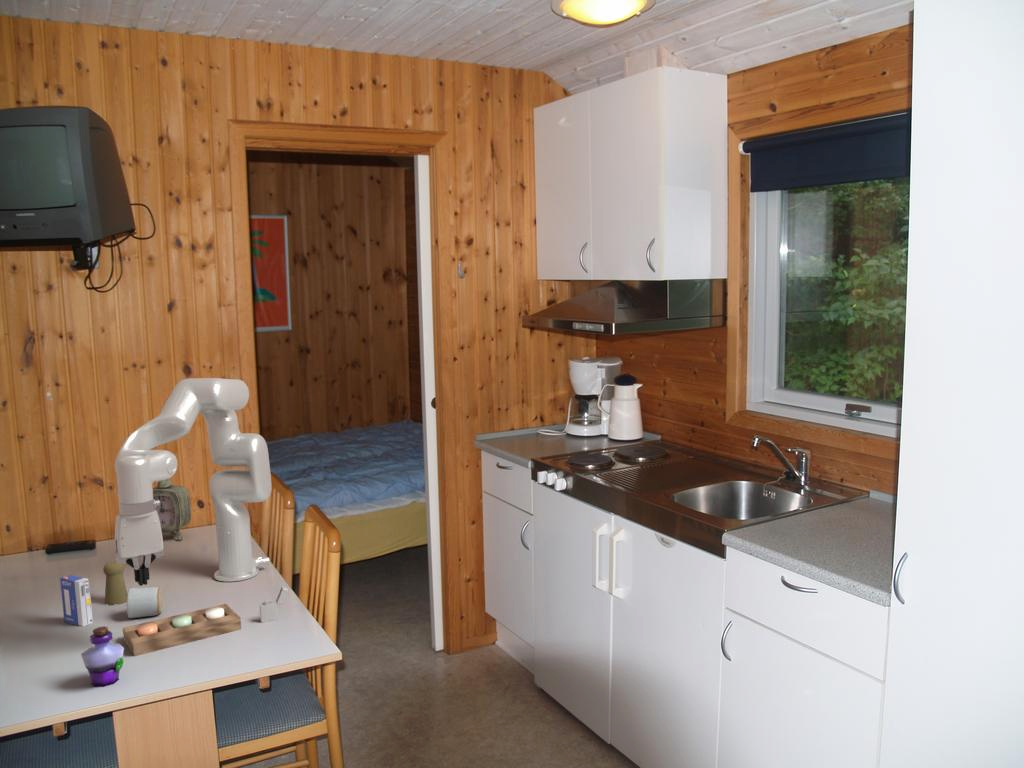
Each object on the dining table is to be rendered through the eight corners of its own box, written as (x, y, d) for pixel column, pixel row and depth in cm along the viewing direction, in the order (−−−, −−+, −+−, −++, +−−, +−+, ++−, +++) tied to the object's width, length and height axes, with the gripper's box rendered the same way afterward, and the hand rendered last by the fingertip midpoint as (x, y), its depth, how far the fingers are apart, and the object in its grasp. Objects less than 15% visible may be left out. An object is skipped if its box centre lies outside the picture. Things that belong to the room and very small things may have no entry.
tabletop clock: (142, 541, 298) (136, 469, 295) (157, 533, 307) (151, 463, 304) (182, 542, 296) (176, 469, 293) (196, 534, 305) (190, 463, 302)
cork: (119, 605, 239) (115, 566, 237) (99, 604, 240) (96, 565, 238) (133, 597, 244) (129, 559, 243) (113, 596, 246) (110, 558, 244)
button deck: (226, 614, 229) (225, 603, 229) (241, 629, 219) (240, 617, 219) (123, 639, 215) (122, 627, 215) (134, 656, 205) (133, 643, 205)
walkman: (64, 621, 228) (59, 576, 227) (74, 617, 231) (69, 573, 229) (83, 626, 224) (78, 581, 223) (93, 622, 227) (88, 577, 225)
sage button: (189, 623, 220) (188, 613, 220) (194, 628, 217) (193, 619, 216) (171, 627, 218) (170, 618, 217) (175, 633, 214) (174, 623, 214)
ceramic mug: (161, 618, 228) (159, 589, 228) (127, 622, 226) (125, 593, 225) (166, 605, 238) (163, 577, 238) (133, 609, 236) (131, 581, 236)
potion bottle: (124, 686, 190) (119, 633, 188) (80, 693, 187) (74, 639, 186) (129, 669, 198) (124, 618, 197) (87, 676, 196) (82, 624, 194)
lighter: (261, 622, 223) (259, 592, 222) (260, 620, 225) (258, 590, 224) (289, 617, 226) (287, 587, 225) (288, 615, 228) (286, 585, 227)
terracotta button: (155, 631, 216) (154, 621, 215) (160, 636, 212) (159, 627, 212) (136, 635, 213) (135, 626, 213) (140, 641, 210) (139, 632, 209)
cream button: (221, 615, 225) (221, 606, 224) (226, 620, 221) (226, 611, 221) (204, 619, 222) (203, 610, 222) (209, 624, 219) (208, 615, 218)
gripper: (165, 500, 216) (171, 573, 218) (99, 510, 208) (105, 586, 209) (173, 506, 210) (178, 581, 212) (105, 516, 201) (111, 594, 203)
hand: (142, 583), depth 211 cm, fingers closed
